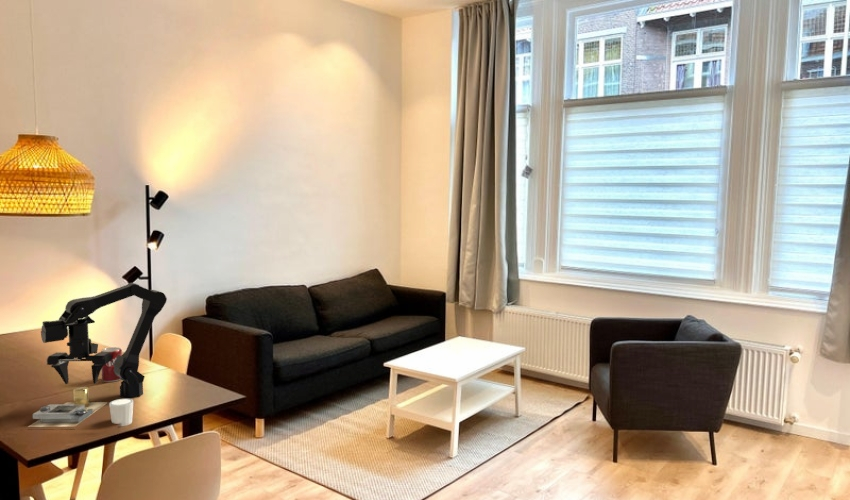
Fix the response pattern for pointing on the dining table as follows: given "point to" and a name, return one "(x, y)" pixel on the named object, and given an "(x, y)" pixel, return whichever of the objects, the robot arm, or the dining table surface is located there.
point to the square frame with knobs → (62, 413)
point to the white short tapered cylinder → (121, 411)
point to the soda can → (110, 365)
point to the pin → (81, 396)
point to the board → (92, 405)
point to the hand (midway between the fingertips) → (81, 383)
